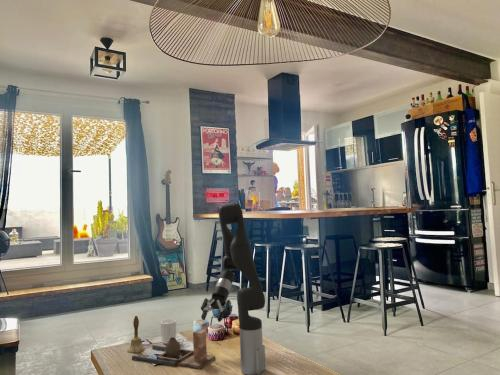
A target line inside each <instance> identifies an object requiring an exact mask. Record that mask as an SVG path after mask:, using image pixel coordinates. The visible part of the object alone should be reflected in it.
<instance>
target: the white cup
mask: <svg viewBox="0 0 500 375" xmlns="http://www.w3.org/2000/svg"><path fill="white" fill-rule="evenodd" d="M160 335H161V336H160V337H161V342H162V344H165V345H167V343H168V342H169V340H170V338H172V337H175V338H177V336H176V335H177V320H176V319H164V320H161V321H160Z"/></svg>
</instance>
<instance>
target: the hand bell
mask: <svg viewBox="0 0 500 375" xmlns="http://www.w3.org/2000/svg"><path fill="white" fill-rule="evenodd" d="M138 317H139V316H138V315H135V316H134V317H133V318H134V319H133V322H132V323H133V329H134V332H133V333H134V335H133V337H132V338H131V340H130V345H129V347H128V348H127V353H130V354H131V353H134V354H135V353H141V352H143V351H145V349H146V347H145V346H144V345H143V343H142V338H141V337H139V326H140V325H139V324H140V321H139V318H138Z"/></svg>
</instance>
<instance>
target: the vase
mask: <svg viewBox="0 0 500 375" xmlns="http://www.w3.org/2000/svg"><path fill="white" fill-rule="evenodd" d="M176 338H177V337H176ZM176 338H175V337H172V338H170V340H169V342H168V343H167V344H165V347H166V348H165V351H164V352H165V354H166V356H167V357H168V358H174V359H179V357H180V356H181V354H180V352H181V349H182V347H181V344H180V342H179V341H178V340H177V339H176Z"/></svg>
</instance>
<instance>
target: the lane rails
mask: <svg viewBox="0 0 500 375" xmlns="http://www.w3.org/2000/svg"><path fill="white" fill-rule="evenodd" d="M151 347H152V348H151V350H158V351H164V352H165V348H166V346H163V345H156V344H153V345H152V346H151ZM131 360H134V361H138V362H139V361H140V362H145V363H151V364H156V363H157V364H158V365H162V366H170V367H175V368H176V367H177V365H176V362H173V361H166V360H160V359H157V358H153V357H152V358H151V357H147V356H142V355H141V356H140V355H135V354H133V355H131Z"/></svg>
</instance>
